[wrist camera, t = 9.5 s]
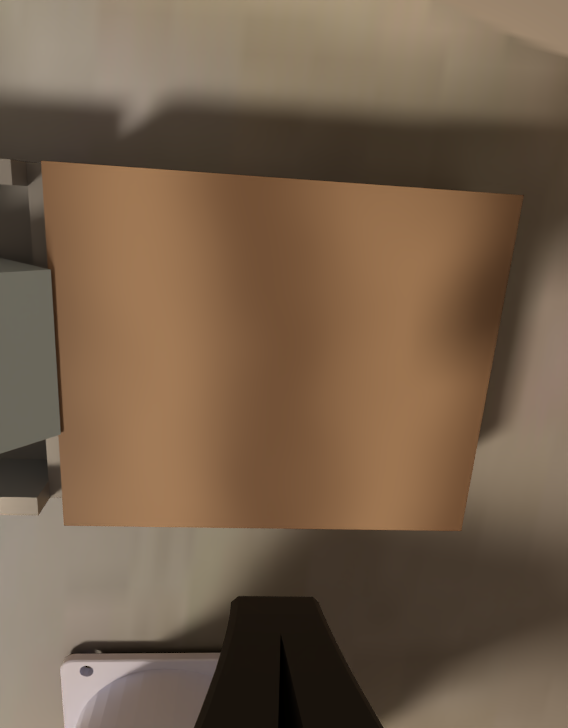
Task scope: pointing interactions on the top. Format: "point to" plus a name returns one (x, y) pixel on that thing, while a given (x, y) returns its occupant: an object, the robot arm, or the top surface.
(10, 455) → the bin
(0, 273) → the tile slate
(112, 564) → the top surface
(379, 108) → the top surface
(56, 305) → the walnut plate
